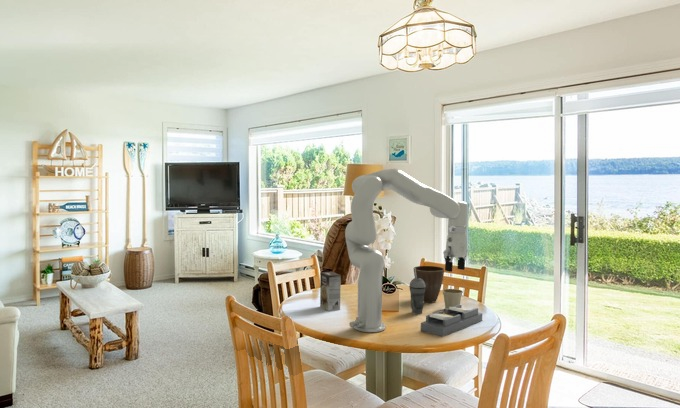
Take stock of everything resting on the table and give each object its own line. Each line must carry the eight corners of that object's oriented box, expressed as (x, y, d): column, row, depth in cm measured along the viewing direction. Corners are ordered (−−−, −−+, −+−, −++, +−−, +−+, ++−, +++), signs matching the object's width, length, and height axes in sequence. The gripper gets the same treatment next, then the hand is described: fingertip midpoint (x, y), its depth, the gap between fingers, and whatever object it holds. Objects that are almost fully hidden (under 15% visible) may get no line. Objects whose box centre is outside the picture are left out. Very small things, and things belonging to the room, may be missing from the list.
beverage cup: (425, 315, 199) (425, 269, 198) (408, 314, 200) (409, 269, 199) (425, 310, 206) (426, 266, 205) (409, 309, 207) (409, 266, 206)
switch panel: (443, 336, 170) (443, 322, 170) (420, 330, 177) (421, 316, 177) (482, 320, 192) (482, 307, 191) (461, 315, 199) (461, 303, 198)
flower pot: (439, 306, 213) (440, 288, 213) (460, 307, 213) (460, 288, 213) (443, 312, 204) (444, 293, 204) (465, 312, 204) (465, 293, 203)
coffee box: (319, 306, 212) (319, 272, 211) (331, 305, 215) (332, 271, 214) (328, 311, 204) (328, 275, 203) (340, 309, 207) (341, 274, 206)
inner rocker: (443, 319, 174) (443, 316, 174) (429, 316, 178) (430, 313, 178) (456, 320, 181) (456, 316, 181) (443, 316, 185) (443, 313, 185)
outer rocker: (462, 312, 184) (462, 309, 184) (449, 309, 188) (449, 306, 188) (474, 314, 191) (474, 310, 191) (461, 311, 195) (461, 308, 195)
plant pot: (430, 306, 214) (430, 272, 214) (406, 299, 226) (407, 267, 225) (450, 301, 224) (450, 268, 223) (426, 295, 235) (427, 264, 235)
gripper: (453, 231, 185) (451, 273, 186) (475, 230, 198) (473, 269, 198) (437, 229, 191) (435, 270, 191) (459, 229, 203) (457, 267, 203)
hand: (454, 270), depth 195 cm, fingers open, 9 cm apart
